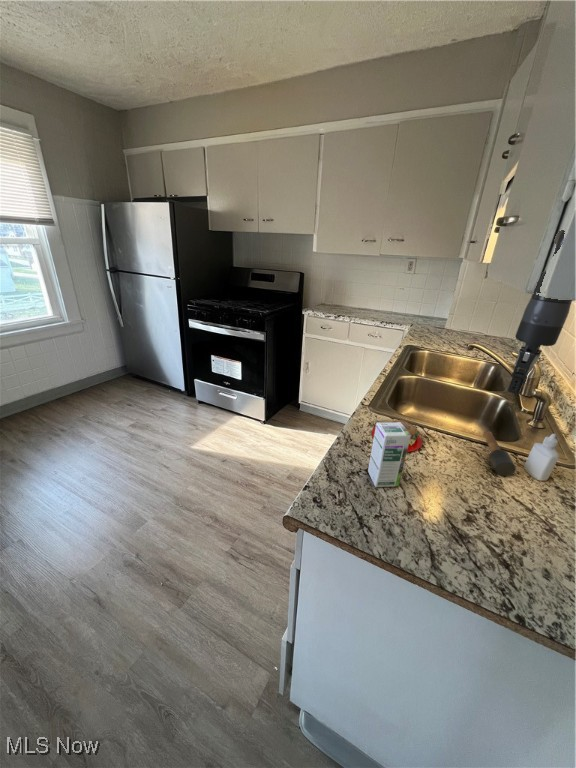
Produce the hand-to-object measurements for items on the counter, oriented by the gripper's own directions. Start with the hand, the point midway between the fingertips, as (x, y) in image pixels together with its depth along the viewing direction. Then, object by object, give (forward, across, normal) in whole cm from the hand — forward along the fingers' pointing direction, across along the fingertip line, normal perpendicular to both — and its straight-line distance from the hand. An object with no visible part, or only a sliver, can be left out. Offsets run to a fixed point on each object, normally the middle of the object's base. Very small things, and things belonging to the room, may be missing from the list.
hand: (516, 387), depth 76 cm
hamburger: (+21, -10, +22) cm, 32 cm away
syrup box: (+21, -28, +17) cm, 39 cm away
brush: (+19, -6, -4) cm, 20 cm away
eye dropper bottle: (+21, +1, -10) cm, 24 cm away
